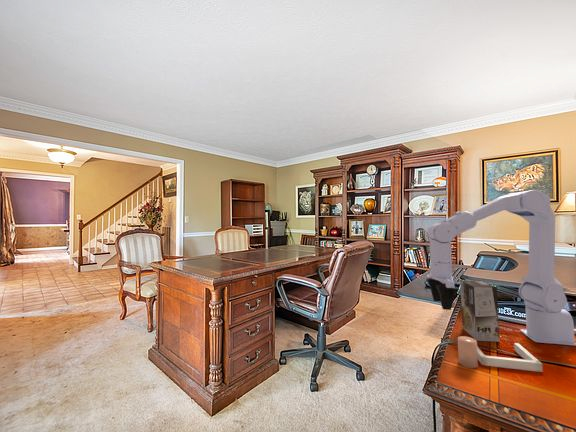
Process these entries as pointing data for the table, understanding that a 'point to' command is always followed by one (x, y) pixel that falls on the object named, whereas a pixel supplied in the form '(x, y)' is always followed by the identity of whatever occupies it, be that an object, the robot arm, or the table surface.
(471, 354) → the beige block
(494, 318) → the coffee box
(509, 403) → the table surface
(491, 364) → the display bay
